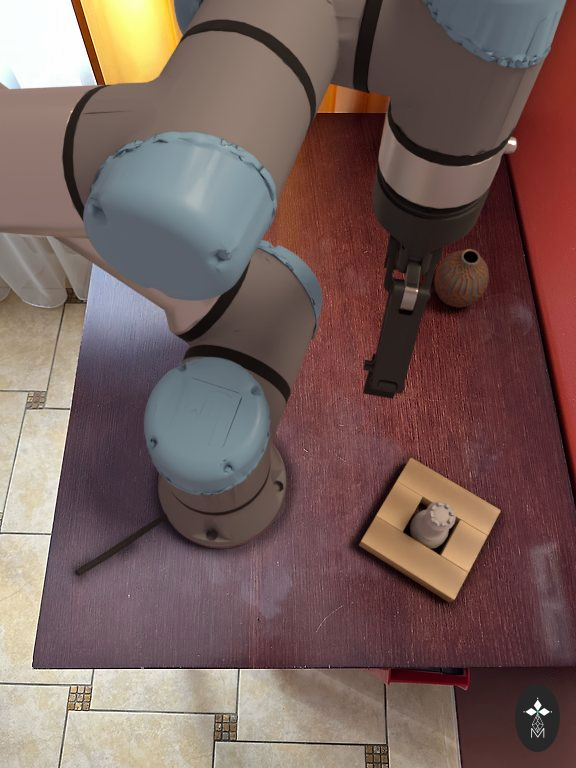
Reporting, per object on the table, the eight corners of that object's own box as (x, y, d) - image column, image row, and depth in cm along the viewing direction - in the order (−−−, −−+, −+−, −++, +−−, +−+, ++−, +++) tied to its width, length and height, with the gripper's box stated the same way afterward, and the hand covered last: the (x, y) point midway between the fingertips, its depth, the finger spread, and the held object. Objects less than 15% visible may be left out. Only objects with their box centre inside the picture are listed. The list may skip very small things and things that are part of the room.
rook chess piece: (447, 513, 82) (463, 495, 74) (447, 551, 80) (463, 536, 73) (409, 509, 82) (421, 491, 75) (408, 547, 80) (421, 532, 73)
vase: (478, 319, 93) (496, 284, 85) (427, 310, 93) (440, 274, 85) (482, 277, 96) (500, 238, 88) (433, 268, 96) (446, 229, 88)
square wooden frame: (449, 603, 78) (454, 600, 75) (358, 545, 80) (360, 541, 78) (495, 515, 82) (501, 510, 79) (407, 463, 84) (410, 457, 82)
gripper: (478, 345, 39) (412, 459, 59) (505, 44, 49) (442, 226, 69) (348, 322, 40) (326, 443, 59) (402, 29, 50) (368, 214, 69)
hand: (388, 327), depth 64 cm, fingers open, 13 cm apart
